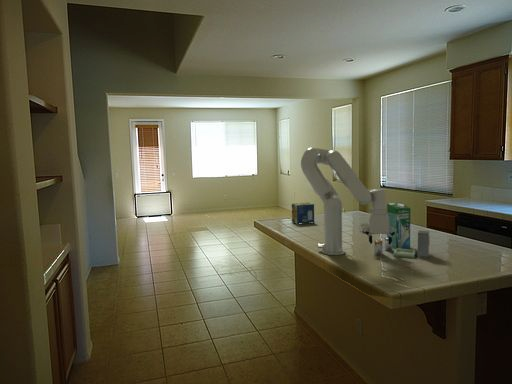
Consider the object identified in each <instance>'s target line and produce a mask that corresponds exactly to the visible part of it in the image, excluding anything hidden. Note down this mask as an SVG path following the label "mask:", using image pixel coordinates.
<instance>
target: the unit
mask: <svg viewBox="0 0 512 384" xmlns="http://www.w3.org/2000/svg"><path fill="white" fill-rule="evenodd" d="M430 246H431V236H430V231H429V230H418V231H417V258H422V259H423V258H424V259H429V256H430Z"/></svg>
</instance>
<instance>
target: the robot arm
mask: <svg viewBox="0 0 512 384" xmlns="http://www.w3.org/2000/svg"><path fill="white" fill-rule="evenodd" d="M318 164H321V165H324V166H325V165H326V166H329V167H330V169H331V170H332V171H333V172H334V174H335V175H336V176H337V177H338V179H339V180H340V182H341V183H342V184H343V185H344V186H345V187H346V188H347V190H348V191H349V192H350V193H351V195H352V196H353V197H354V198H355V200H356V201H357V202H358V203H359V204H360V205H363V206H366V205H369V204H370V203H371V209H370V210H369V209H368V213H369V218H370V225H369V226H367V227H364V228H363V230H364V231H365V232H364V231H363V232H364V233H365V235H367V236H368V242H369V244H370V245H372V244H373V235H375V234H377V235H378V234H379V235H387V234H388V235H389V245H390V244H391V243H392V236H393V235H394V234H395V232H396V231H397V228H395V227H393V226H391V225H390V223H389V217H388V214H387V194H386V193H387V192H386V190H385V189H384V188H373V189H368V188H367V187H366V186H365V185H364V184H363V183H362V181H361V180H360V178H359V177H358V176H357V173H356V172H355V171H354V169H353V168H352V167H351V165H350V164H349V163H348V161H346V159H345V158H344V157H343V155H342V154H341V152H339V151H338V150H334V149H333V150H331V149H325V148H324V149H323V148H318V147H308V148H307V149H306V150H305V151H304V152H303V154H302V157H301V160H300V166H301V167H300V168H301V171H302V172H303V175H304V176H305V178H306V179H307V181H308V183H309V184H310V186H311V187H312V189H313V191H314V193H315V194H316V195H317V196H319V198H320V200H321V202H322V203H323V218H324V219H323V223H324V224H323V225H324V230H323V231H324V243H323V244H321V243H318V244H317V246H316V247H317V248H318V249H321V253H322V254H324V255H327V256H328V255H329V256H341V255H344V254H346V250H345V249H344V248H343V202H342V198H341V196H339V194H338V192H337V191H336V189H335V188H334V186H333V185H332V183H331V182H330V180H328V179H327V178H326V177H325V176H324V174H323V173H322V171H321V169H320V167H319V166H318ZM370 213H372V214H371V215H370ZM368 228H370V230H369V231H367V229H368ZM390 228H391V229H393V230H394V231H393V232H392V233H391V232H390ZM372 234H373V235H372Z"/></svg>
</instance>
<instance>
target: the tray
mask: <svg viewBox="0 0 512 384" xmlns="http://www.w3.org/2000/svg"><path fill="white" fill-rule="evenodd" d="M416 254H417V253H416V249H409V248H401V249H399V248H396V249H395V248H394V251H393V257H397V258H409V259H414V258H415V257H416Z"/></svg>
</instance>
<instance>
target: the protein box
mask: <svg viewBox="0 0 512 384" xmlns="http://www.w3.org/2000/svg"><path fill="white" fill-rule="evenodd" d="M292 222H294V223H296V224H295V225H297V224H299V223H309V222H314V223H315V204H314V203H311V202H302V203H301V202H298V203H297V202H296V203H291V223H292ZM294 223H293V224H294ZM299 225H300V224H299Z"/></svg>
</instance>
